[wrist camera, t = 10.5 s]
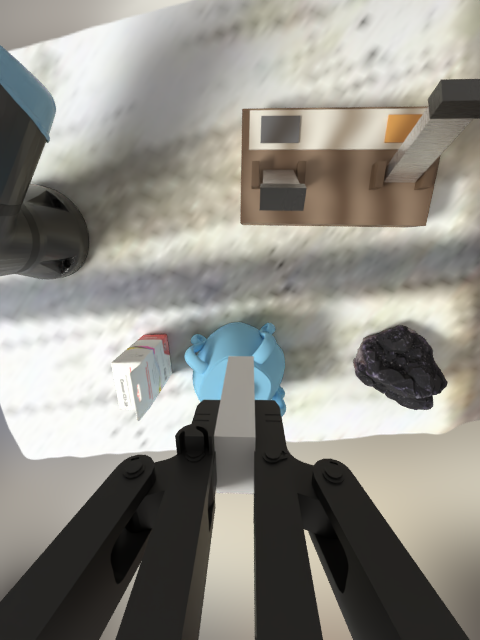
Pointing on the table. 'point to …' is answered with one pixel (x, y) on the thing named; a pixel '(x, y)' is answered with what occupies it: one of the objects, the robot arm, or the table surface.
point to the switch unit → (334, 166)
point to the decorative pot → (237, 343)
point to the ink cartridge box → (142, 373)
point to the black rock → (400, 367)
